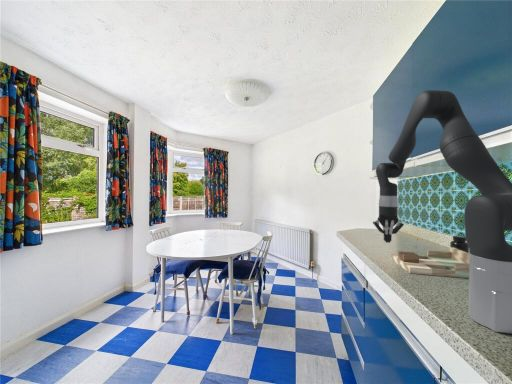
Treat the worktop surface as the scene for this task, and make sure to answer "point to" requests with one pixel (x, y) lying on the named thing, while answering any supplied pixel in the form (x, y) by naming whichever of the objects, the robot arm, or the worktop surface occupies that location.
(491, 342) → the worktop surface
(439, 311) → the worktop surface
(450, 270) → the box
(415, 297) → the worktop surface
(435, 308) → the worktop surface
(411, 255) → the walnut block
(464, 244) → the supplement bottle
